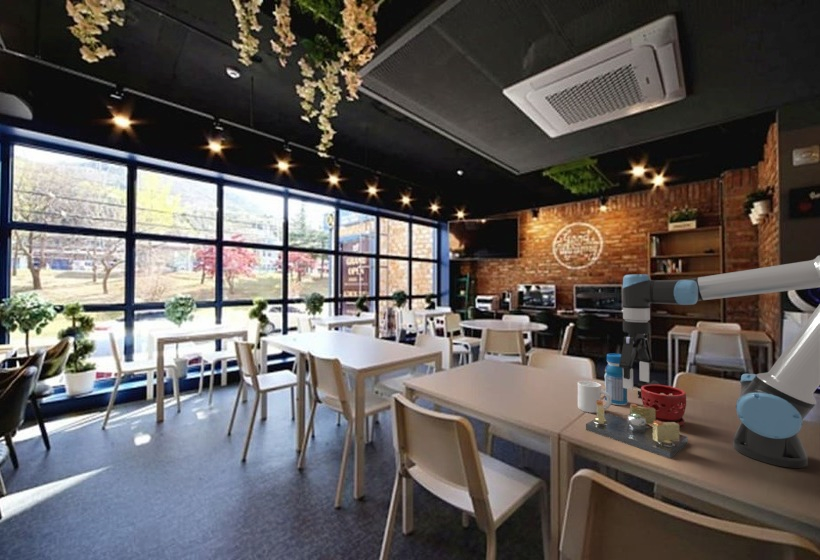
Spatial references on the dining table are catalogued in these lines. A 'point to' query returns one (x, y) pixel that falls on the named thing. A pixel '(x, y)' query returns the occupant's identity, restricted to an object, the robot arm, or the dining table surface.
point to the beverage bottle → (615, 380)
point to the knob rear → (644, 412)
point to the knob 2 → (665, 432)
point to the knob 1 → (600, 413)
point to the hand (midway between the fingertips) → (636, 384)
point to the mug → (590, 396)
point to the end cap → (646, 384)
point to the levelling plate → (635, 434)
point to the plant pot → (665, 402)
